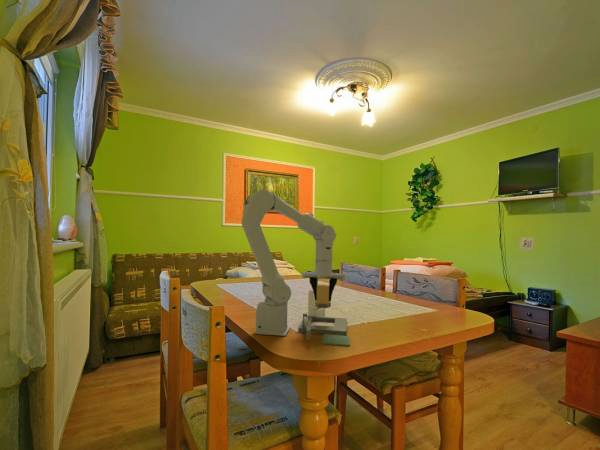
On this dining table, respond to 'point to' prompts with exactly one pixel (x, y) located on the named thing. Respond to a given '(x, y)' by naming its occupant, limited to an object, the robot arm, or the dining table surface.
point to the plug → (323, 296)
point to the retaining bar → (306, 326)
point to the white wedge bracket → (312, 308)
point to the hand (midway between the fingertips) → (323, 300)
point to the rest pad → (336, 340)
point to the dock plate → (337, 329)
